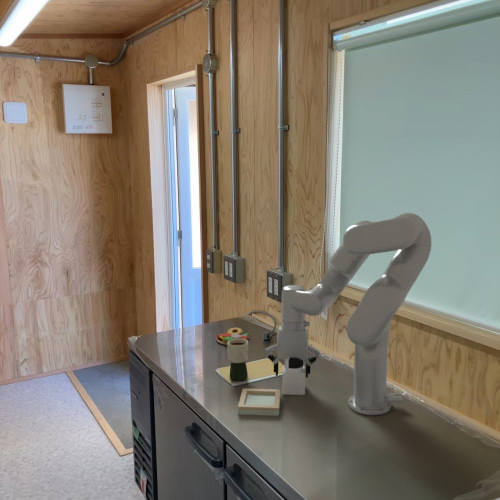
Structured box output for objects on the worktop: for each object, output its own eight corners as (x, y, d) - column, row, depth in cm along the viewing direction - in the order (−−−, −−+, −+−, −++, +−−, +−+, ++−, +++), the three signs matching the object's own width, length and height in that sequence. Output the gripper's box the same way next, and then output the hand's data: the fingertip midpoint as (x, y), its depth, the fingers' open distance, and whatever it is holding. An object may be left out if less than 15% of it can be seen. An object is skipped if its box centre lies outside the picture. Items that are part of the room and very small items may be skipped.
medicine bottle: (304, 385, 173) (304, 351, 171) (305, 395, 166) (304, 359, 164) (283, 385, 174) (282, 350, 172) (282, 395, 167) (282, 359, 165)
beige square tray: (280, 396, 166) (280, 389, 165) (278, 415, 154) (278, 407, 153) (242, 395, 167) (242, 388, 166) (238, 414, 155) (238, 406, 155)
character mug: (255, 382, 177) (254, 345, 174) (235, 386, 174) (234, 349, 171) (241, 370, 186) (240, 335, 184) (223, 374, 183) (221, 338, 181)
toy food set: (237, 333, 225) (237, 325, 224) (255, 341, 214) (255, 334, 214) (210, 339, 218) (210, 332, 217) (227, 349, 207) (227, 341, 206)
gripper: (320, 321, 169) (318, 371, 172) (266, 319, 171) (265, 368, 174) (320, 329, 162) (319, 381, 165) (264, 327, 163) (264, 378, 167)
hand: (291, 374), depth 169 cm, fingers open, 9 cm apart
